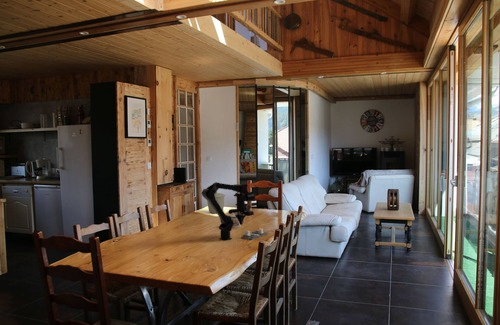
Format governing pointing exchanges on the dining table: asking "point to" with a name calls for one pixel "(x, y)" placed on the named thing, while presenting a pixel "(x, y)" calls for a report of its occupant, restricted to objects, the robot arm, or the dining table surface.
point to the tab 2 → (260, 231)
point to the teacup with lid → (235, 221)
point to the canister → (219, 199)
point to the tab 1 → (247, 233)
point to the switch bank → (254, 235)
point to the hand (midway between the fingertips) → (241, 224)
